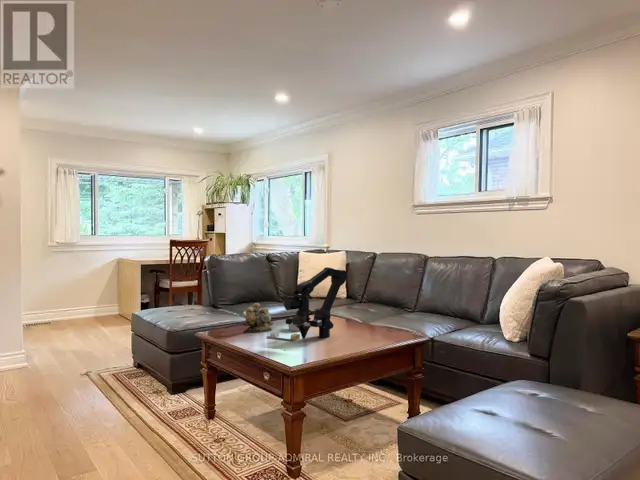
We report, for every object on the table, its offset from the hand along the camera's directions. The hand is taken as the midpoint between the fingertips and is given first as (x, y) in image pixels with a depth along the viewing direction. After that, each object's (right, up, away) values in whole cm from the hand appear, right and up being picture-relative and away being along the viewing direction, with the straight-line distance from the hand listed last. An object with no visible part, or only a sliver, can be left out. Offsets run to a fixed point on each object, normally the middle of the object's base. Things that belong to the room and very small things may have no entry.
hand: (303, 338), depth 229 cm
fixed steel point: (-16, -1, +9) cm, 18 cm away
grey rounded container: (-5, -2, +27) cm, 28 cm away
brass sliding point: (-4, -1, +2) cm, 5 cm away
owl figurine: (-27, -2, +25) cm, 37 cm away
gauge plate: (-10, -2, +6) cm, 12 cm away
